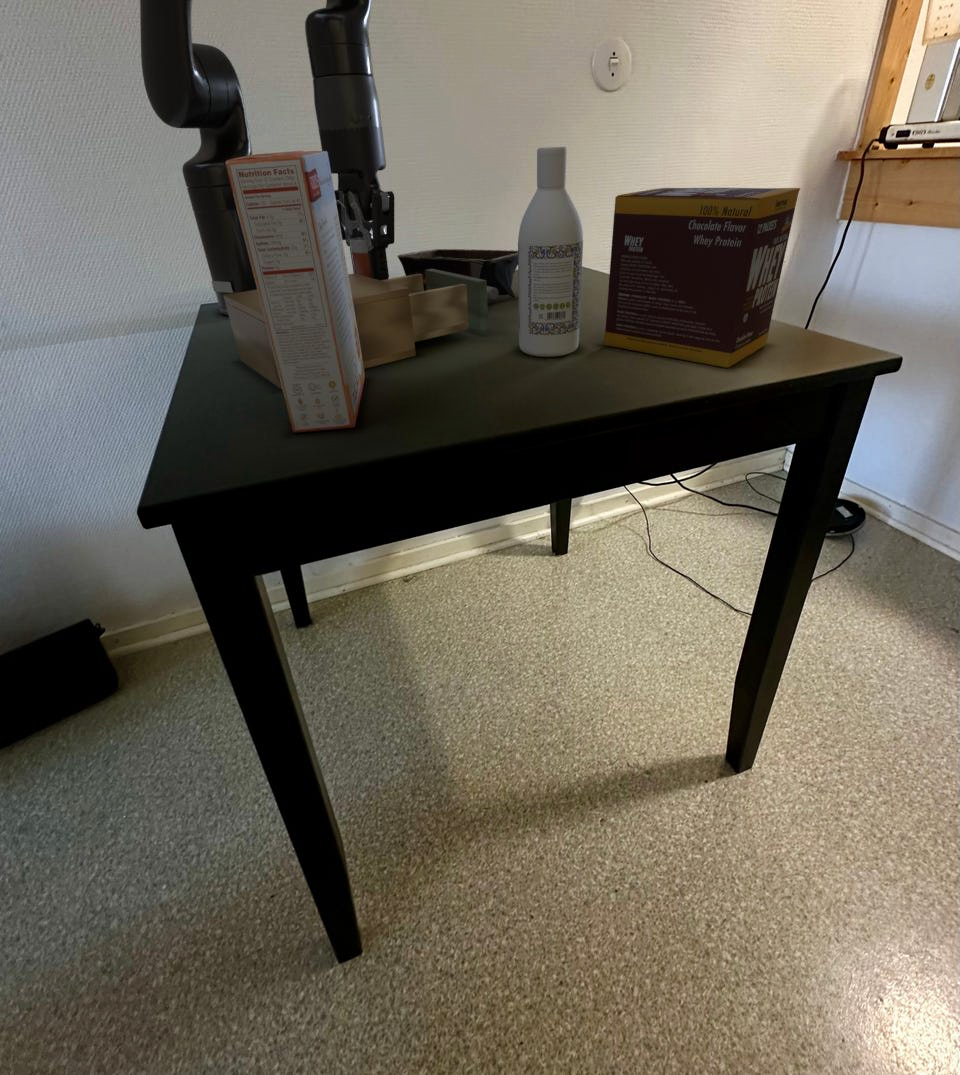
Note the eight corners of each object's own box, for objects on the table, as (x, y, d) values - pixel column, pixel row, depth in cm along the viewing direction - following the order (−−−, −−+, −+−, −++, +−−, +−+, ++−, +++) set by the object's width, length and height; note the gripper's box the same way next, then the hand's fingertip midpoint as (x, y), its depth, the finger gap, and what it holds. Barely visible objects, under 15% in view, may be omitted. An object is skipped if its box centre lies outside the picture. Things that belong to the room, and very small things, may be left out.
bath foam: (590, 351, 69) (601, 144, 58) (538, 362, 67) (539, 148, 56) (558, 338, 75) (562, 146, 64) (508, 347, 72) (504, 149, 61)
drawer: (460, 307, 87) (457, 264, 84) (514, 322, 78) (513, 274, 75) (335, 334, 78) (326, 286, 74) (380, 355, 69) (373, 302, 66)
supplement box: (730, 369, 62) (762, 196, 53) (602, 345, 71) (612, 194, 62) (769, 345, 68) (803, 186, 60) (647, 326, 77) (662, 186, 69)
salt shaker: (357, 324, 85) (343, 238, 79) (384, 319, 87) (373, 234, 81) (371, 330, 82) (358, 241, 76) (399, 324, 84) (389, 237, 78)
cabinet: (363, 334, 81) (354, 273, 76) (416, 355, 71) (409, 287, 67) (240, 361, 73) (223, 294, 69) (281, 389, 63) (263, 314, 59)
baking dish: (454, 301, 103) (439, 238, 98) (542, 293, 93) (531, 222, 88) (399, 328, 94) (380, 260, 89) (490, 322, 84) (475, 245, 79)
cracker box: (311, 382, 65) (263, 152, 53) (367, 378, 65) (331, 148, 53) (287, 435, 53) (219, 155, 42) (356, 430, 53) (307, 150, 42)
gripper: (407, 120, 69) (422, 280, 78) (352, 127, 79) (371, 268, 88) (347, 123, 65) (371, 290, 74) (297, 129, 75) (323, 276, 84)
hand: (371, 277), depth 81 cm, fingers open, 4 cm apart
